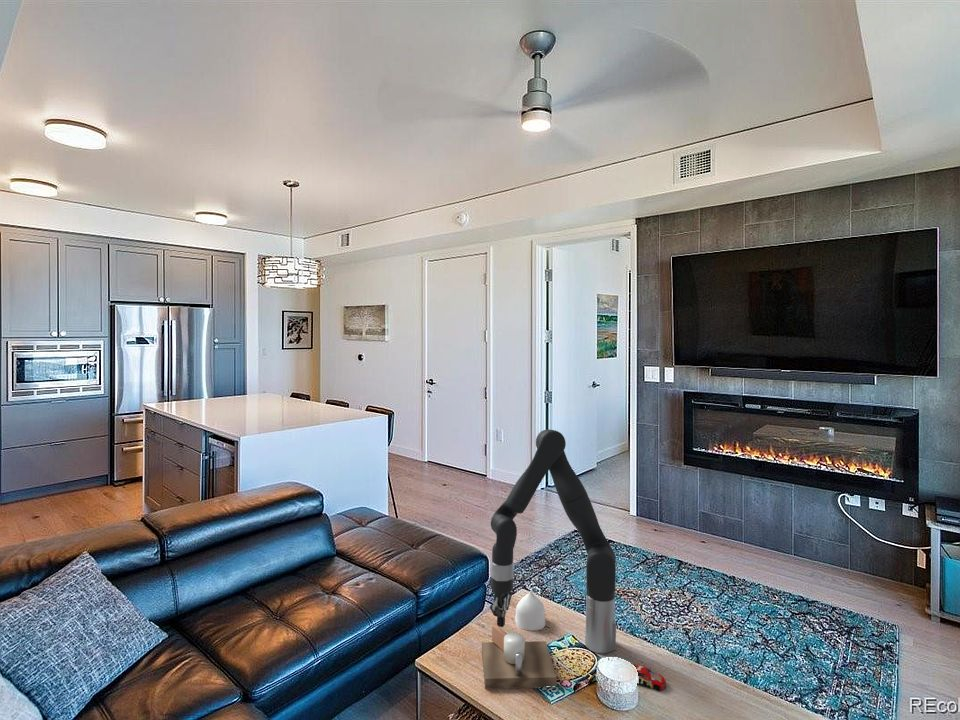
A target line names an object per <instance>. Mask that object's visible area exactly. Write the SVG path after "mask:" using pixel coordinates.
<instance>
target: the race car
mask: <svg viewBox="0 0 960 720" xmlns="http://www.w3.org/2000/svg"><path fill="white" fill-rule="evenodd" d="M632 664H633V665H634V666H635V667H636V669H637V672H638V676H639V684H638V685H639V686H643V687H647V688H649V689H653V690H654V691H657V692H659V691H663V690H665V689H666V688H667V680H666V679H665V677H664V676H663V675H661V674H660V673H657V672H655V671H653V670H652V669H651V668H649V667H646V666H643V665H641V664H636V663H632Z"/></svg>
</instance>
